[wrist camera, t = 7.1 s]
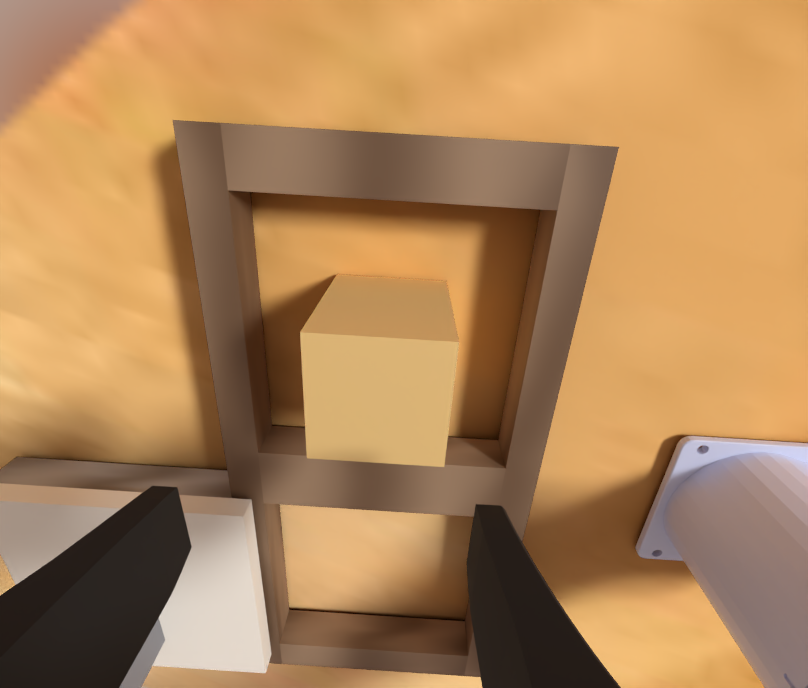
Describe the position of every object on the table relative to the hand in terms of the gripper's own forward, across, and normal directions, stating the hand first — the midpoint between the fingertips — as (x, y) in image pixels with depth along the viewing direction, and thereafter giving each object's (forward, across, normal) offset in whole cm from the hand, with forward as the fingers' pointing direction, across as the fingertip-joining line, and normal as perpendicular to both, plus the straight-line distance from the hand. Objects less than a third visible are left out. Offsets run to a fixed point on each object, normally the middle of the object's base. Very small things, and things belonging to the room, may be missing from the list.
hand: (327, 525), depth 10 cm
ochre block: (+9, -1, -1) cm, 10 cm away
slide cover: (+7, +11, +13) cm, 18 cm away
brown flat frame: (+9, +5, +6) cm, 12 cm away
